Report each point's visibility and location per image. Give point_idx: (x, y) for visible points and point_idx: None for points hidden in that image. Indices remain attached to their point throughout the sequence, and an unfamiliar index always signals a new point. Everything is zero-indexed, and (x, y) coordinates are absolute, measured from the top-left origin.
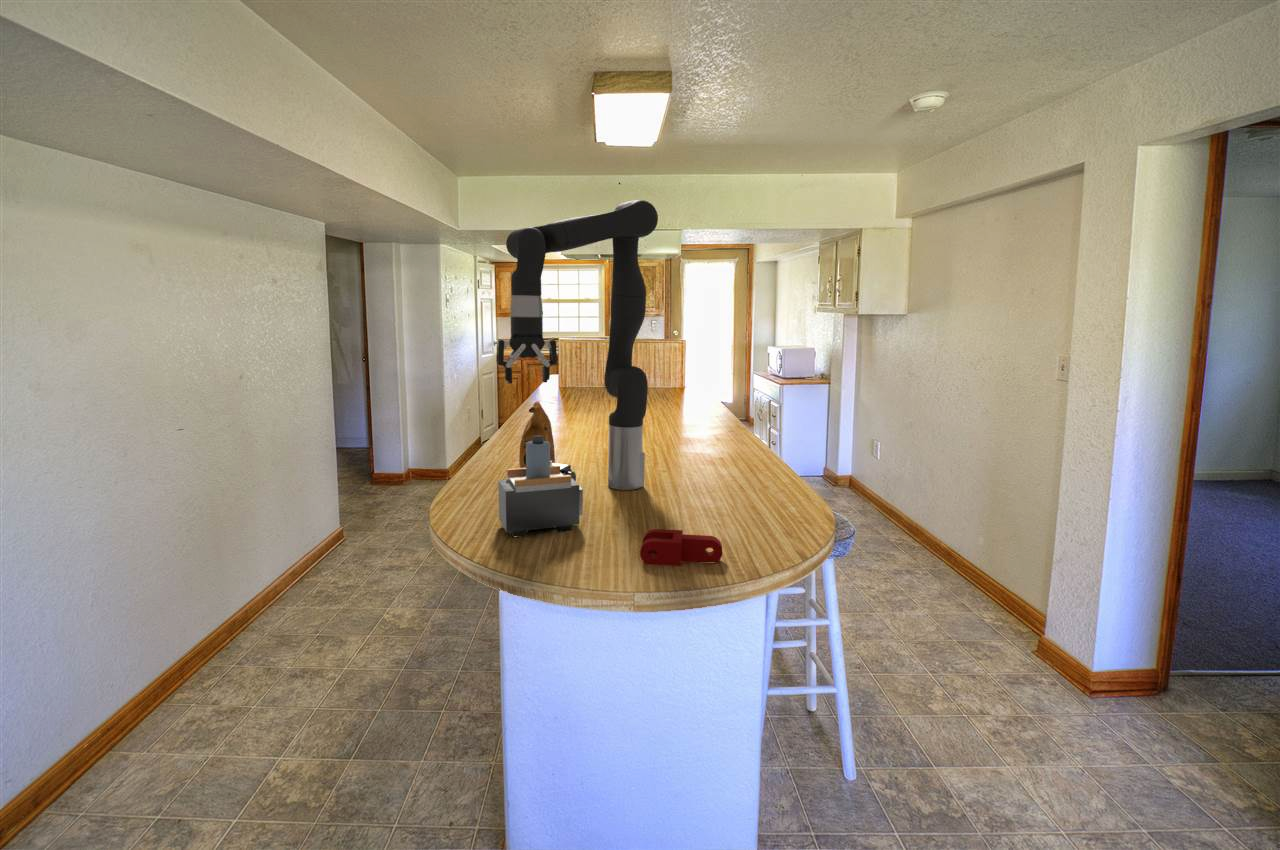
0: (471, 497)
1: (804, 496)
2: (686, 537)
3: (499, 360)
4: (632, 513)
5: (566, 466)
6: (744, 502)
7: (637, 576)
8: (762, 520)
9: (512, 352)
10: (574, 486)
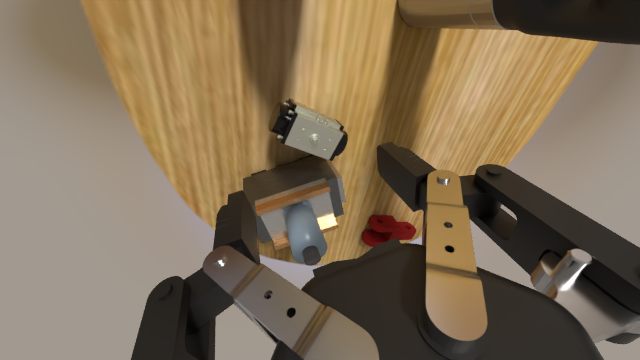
0: (152, 43)
1: (570, 77)
2: (397, 238)
3: (190, 339)
4: (388, 132)
5: (339, 143)
6: (507, 96)
7: (352, 248)
8: (482, 151)
9: (262, 322)
10: (337, 214)
